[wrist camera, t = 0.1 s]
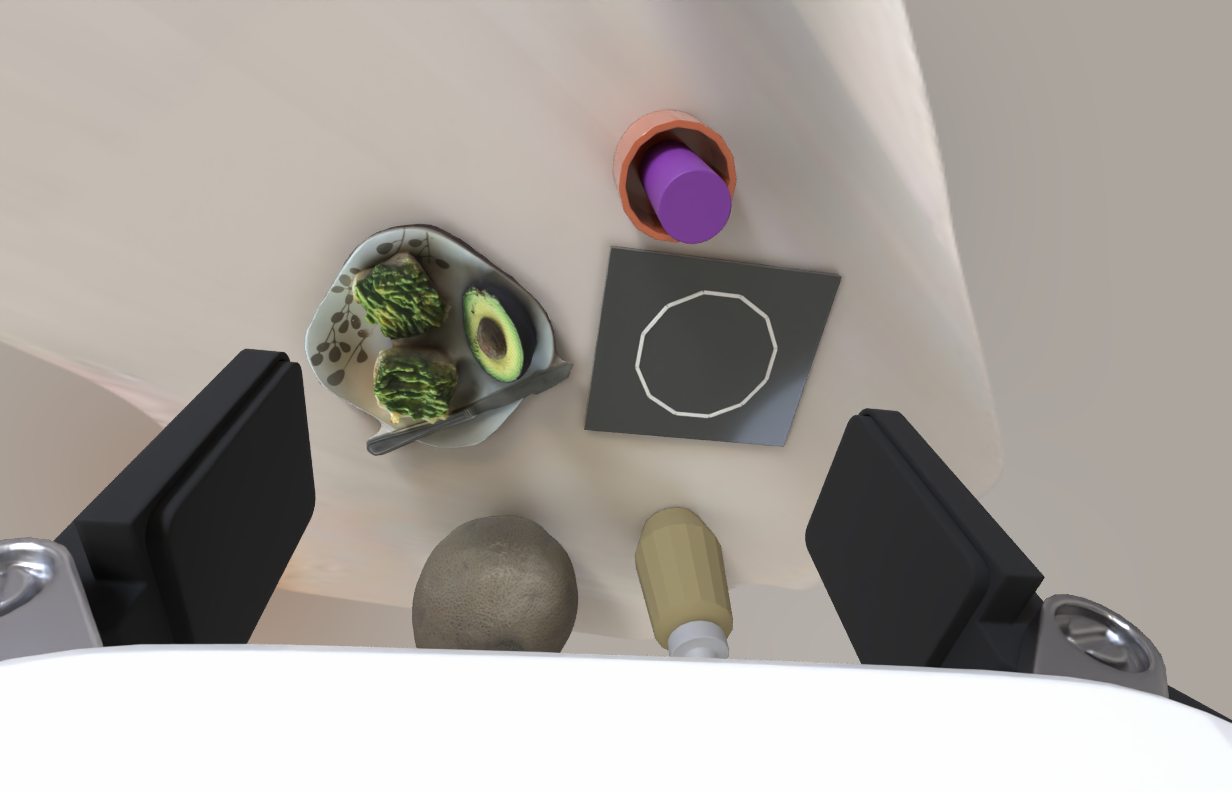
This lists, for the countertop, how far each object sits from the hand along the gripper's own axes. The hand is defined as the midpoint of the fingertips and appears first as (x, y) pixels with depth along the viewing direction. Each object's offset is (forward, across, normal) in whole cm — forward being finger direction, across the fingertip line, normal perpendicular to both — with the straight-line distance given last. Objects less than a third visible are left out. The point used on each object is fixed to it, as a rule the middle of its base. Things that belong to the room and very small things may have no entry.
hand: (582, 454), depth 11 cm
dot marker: (+36, -7, +1) cm, 37 cm away
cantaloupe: (+37, +2, +36) cm, 52 cm away
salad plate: (+37, +8, +16) cm, 41 cm away
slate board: (+37, -13, +15) cm, 42 cm away
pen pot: (+37, -7, +1) cm, 37 cm away
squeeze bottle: (+37, -14, +34) cm, 52 cm away
